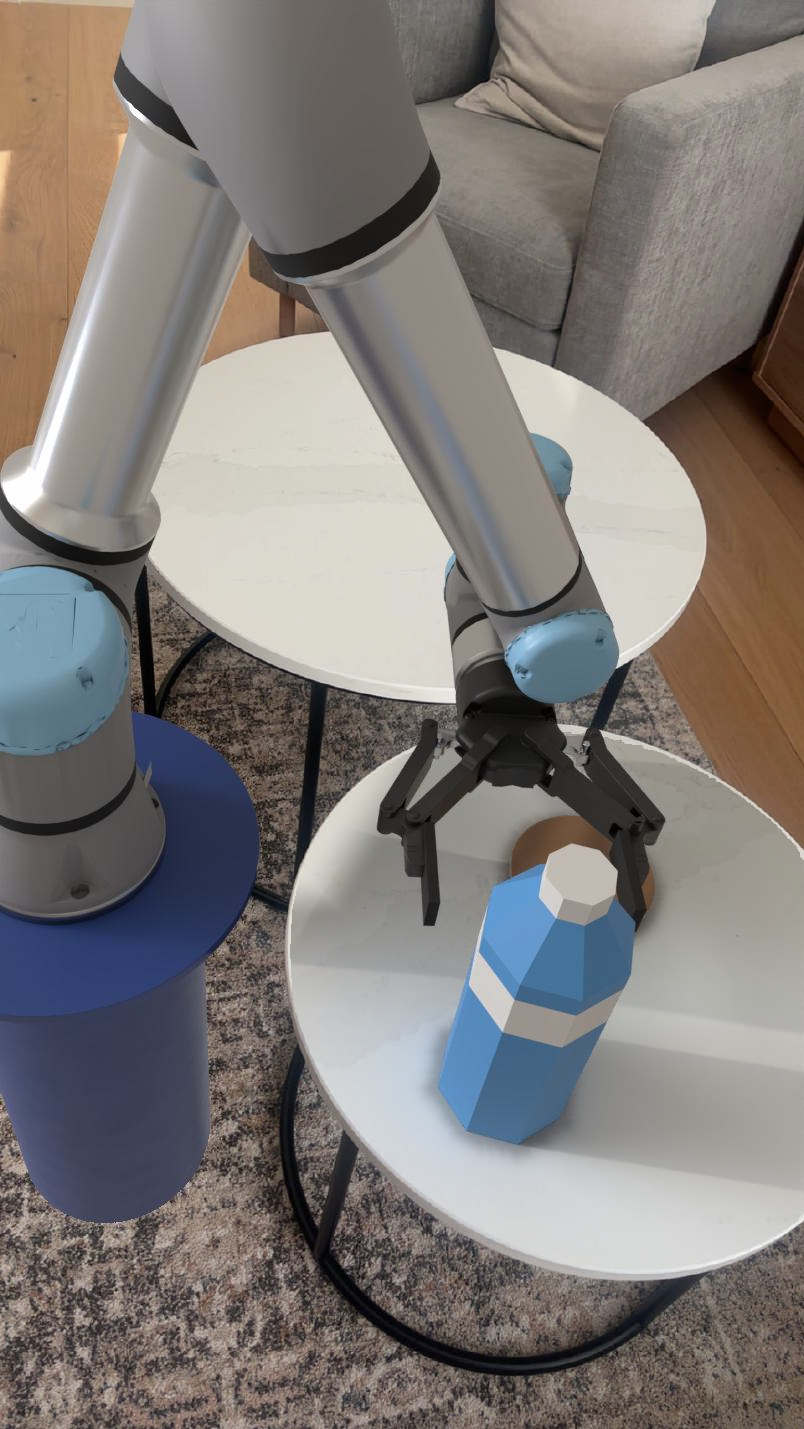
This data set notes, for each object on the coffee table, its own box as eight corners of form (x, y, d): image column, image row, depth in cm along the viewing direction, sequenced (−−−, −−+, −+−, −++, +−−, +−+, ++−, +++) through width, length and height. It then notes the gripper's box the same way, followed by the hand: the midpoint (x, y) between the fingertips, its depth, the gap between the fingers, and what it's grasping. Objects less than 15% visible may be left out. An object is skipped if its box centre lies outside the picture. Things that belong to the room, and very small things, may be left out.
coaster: (488, 904, 88) (490, 897, 87) (535, 803, 96) (537, 795, 95) (630, 965, 85) (634, 958, 85) (666, 855, 93) (669, 848, 93)
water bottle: (547, 1013, 82) (635, 802, 64) (582, 1135, 75) (690, 939, 57) (425, 1026, 80) (481, 812, 62) (451, 1152, 73) (521, 955, 56)
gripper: (643, 729, 90) (701, 954, 75) (340, 713, 87) (339, 943, 73) (669, 663, 85) (737, 891, 70) (348, 644, 82) (348, 877, 67)
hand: (534, 918), depth 71 cm, fingers open, 13 cm apart
